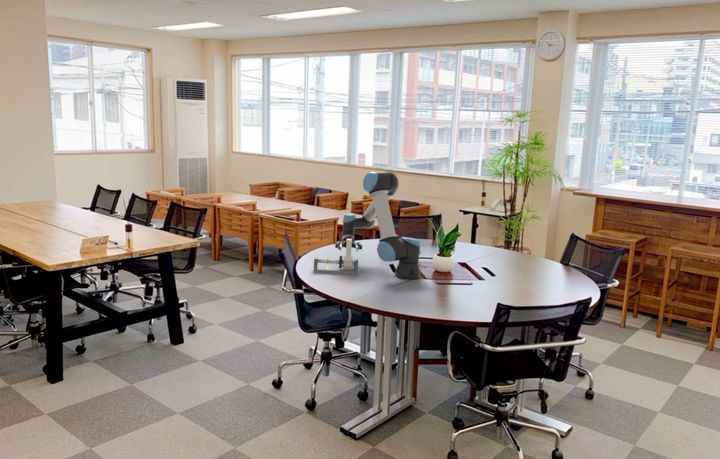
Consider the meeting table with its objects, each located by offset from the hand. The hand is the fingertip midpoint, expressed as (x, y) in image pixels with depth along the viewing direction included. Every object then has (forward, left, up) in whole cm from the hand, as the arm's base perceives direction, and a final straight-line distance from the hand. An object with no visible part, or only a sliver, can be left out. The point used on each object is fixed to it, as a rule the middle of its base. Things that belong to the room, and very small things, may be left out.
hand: (348, 249), depth 342 cm
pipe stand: (+8, 0, -15) cm, 17 cm away
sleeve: (+3, -4, -13) cm, 13 cm away
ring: (+6, -2, -13) cm, 14 cm away
